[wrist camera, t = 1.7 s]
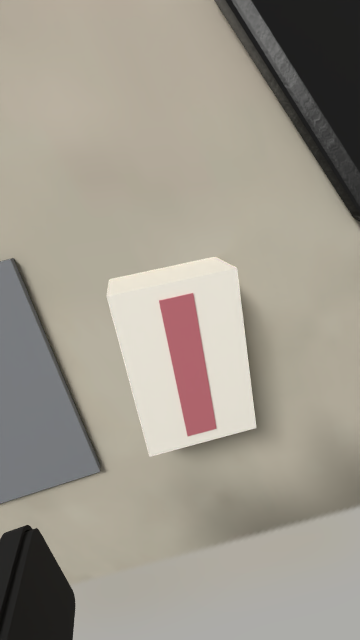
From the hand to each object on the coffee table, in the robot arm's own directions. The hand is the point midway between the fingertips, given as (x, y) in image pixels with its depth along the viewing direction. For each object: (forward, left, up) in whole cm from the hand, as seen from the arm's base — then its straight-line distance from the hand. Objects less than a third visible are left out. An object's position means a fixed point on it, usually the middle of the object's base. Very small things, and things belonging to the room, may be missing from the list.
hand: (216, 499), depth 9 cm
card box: (-1, 0, -12) cm, 12 cm away
